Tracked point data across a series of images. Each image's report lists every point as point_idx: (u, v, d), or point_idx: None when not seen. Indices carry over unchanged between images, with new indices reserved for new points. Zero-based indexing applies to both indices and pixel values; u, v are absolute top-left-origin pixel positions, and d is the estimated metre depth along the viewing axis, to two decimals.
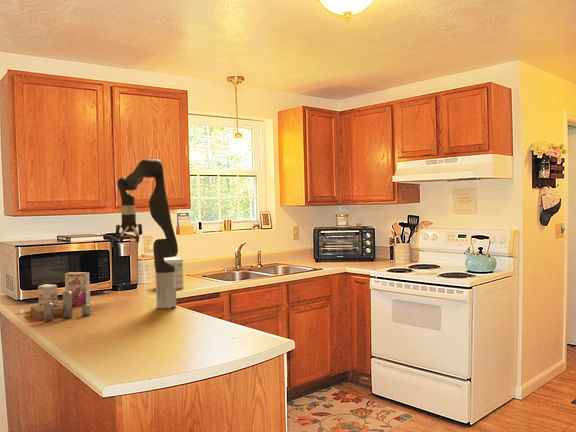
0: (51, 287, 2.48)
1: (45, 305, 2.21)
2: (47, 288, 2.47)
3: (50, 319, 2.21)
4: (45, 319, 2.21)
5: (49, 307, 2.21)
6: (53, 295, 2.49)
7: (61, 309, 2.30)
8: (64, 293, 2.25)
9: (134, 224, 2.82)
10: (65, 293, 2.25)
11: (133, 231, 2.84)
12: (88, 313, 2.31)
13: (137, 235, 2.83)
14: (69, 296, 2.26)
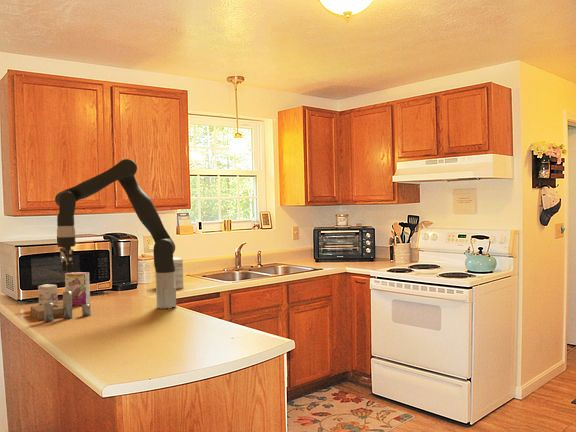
0: (51, 287, 2.48)
1: (45, 305, 2.21)
2: (47, 288, 2.47)
3: (50, 319, 2.21)
4: (45, 319, 2.21)
5: (49, 307, 2.21)
6: (53, 295, 2.49)
7: (61, 309, 2.30)
8: (64, 293, 2.25)
9: None
10: (65, 293, 2.25)
11: (63, 257, 2.30)
12: (88, 313, 2.31)
13: None
14: (69, 296, 2.26)
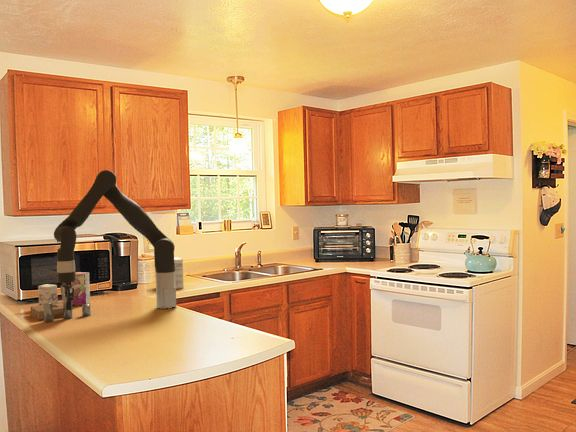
0: (51, 287, 2.48)
1: (45, 305, 2.20)
2: (47, 288, 2.47)
3: (50, 319, 2.21)
4: (45, 319, 2.21)
5: (49, 307, 2.21)
6: (53, 295, 2.49)
7: (61, 309, 2.30)
8: None
9: None
10: None
11: None
12: (88, 313, 2.31)
13: None
14: (69, 296, 2.26)
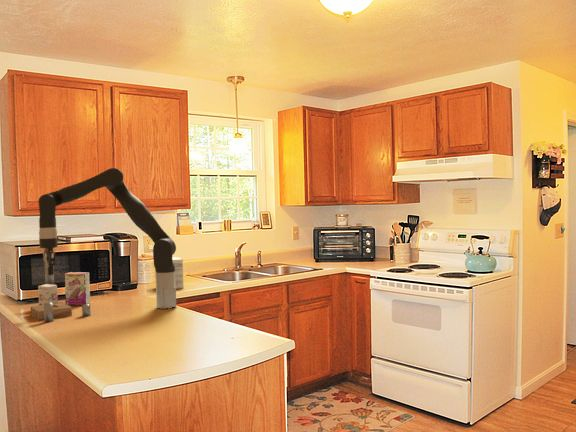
0: (51, 287, 2.48)
1: (45, 305, 2.21)
2: (47, 288, 2.47)
3: (50, 319, 2.21)
4: (45, 319, 2.21)
5: (49, 307, 2.21)
6: (53, 295, 2.49)
7: (61, 309, 2.30)
8: None
9: None
10: None
11: None
12: (88, 313, 2.31)
13: None
14: (51, 262, 2.34)
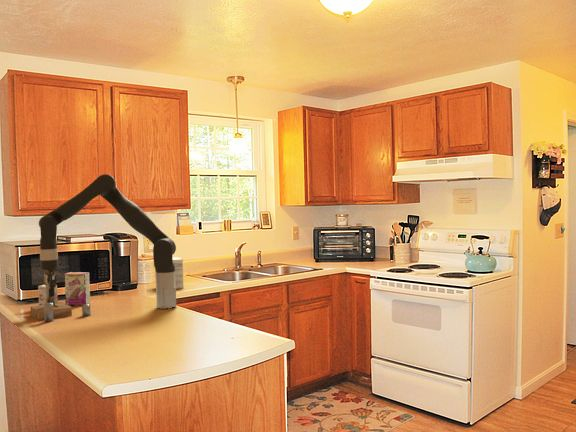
0: None
1: (45, 305, 2.21)
2: None
3: (50, 319, 2.21)
4: (45, 319, 2.21)
5: (49, 307, 2.21)
6: None
7: (61, 309, 2.30)
8: None
9: None
10: None
11: None
12: (88, 313, 2.31)
13: None
14: (52, 283, 2.34)
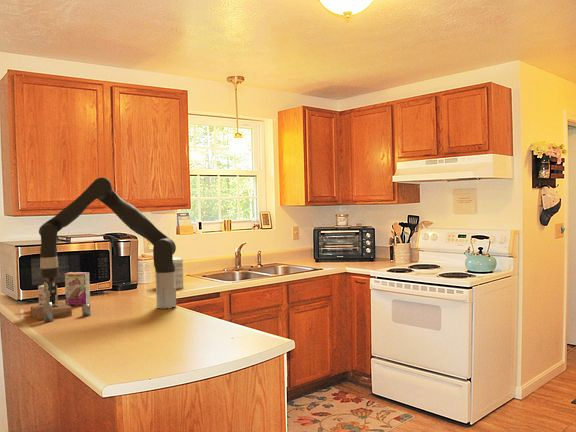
0: None
1: (44, 305, 2.21)
2: None
3: (49, 319, 2.21)
4: (45, 319, 2.21)
5: (48, 307, 2.21)
6: None
7: (61, 309, 2.30)
8: (47, 291, 2.33)
9: None
10: None
11: (46, 288, 2.36)
12: (88, 313, 2.31)
13: None
14: None
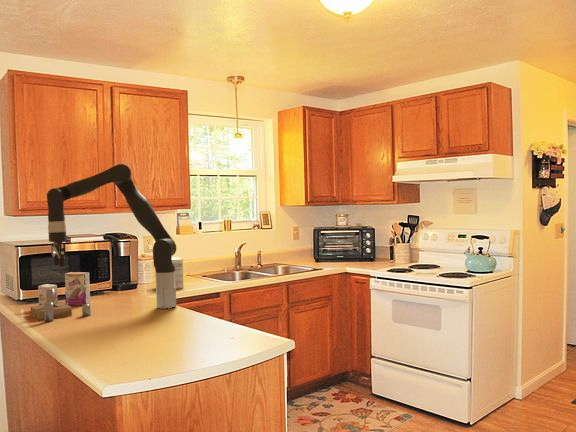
0: (51, 287, 2.48)
1: (45, 305, 2.21)
2: (47, 288, 2.47)
3: (49, 319, 2.21)
4: (45, 319, 2.21)
5: (49, 307, 2.21)
6: None
7: (61, 309, 2.30)
8: (47, 291, 2.33)
9: None
10: (48, 291, 2.33)
11: (54, 252, 2.39)
12: (88, 313, 2.31)
13: (58, 256, 2.41)
14: (52, 294, 2.34)
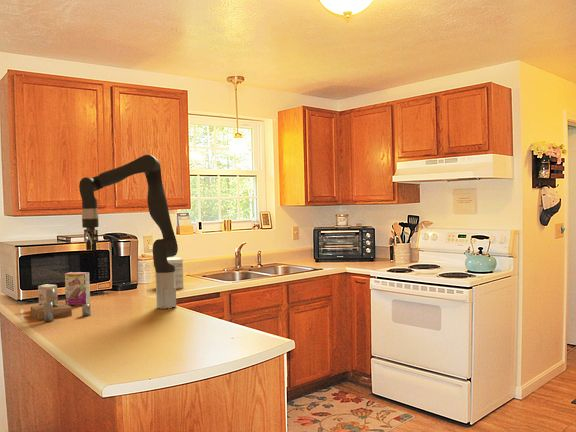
0: (51, 287, 2.48)
1: (44, 305, 2.21)
2: (47, 288, 2.47)
3: (49, 319, 2.21)
4: (44, 319, 2.21)
5: (48, 307, 2.21)
6: None
7: (61, 309, 2.30)
8: (47, 291, 2.33)
9: None
10: (48, 291, 2.33)
11: (87, 237, 2.54)
12: (88, 313, 2.31)
13: None
14: (52, 294, 2.34)
